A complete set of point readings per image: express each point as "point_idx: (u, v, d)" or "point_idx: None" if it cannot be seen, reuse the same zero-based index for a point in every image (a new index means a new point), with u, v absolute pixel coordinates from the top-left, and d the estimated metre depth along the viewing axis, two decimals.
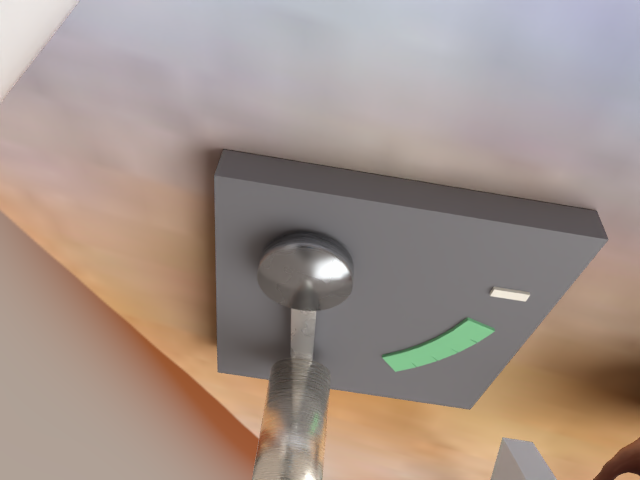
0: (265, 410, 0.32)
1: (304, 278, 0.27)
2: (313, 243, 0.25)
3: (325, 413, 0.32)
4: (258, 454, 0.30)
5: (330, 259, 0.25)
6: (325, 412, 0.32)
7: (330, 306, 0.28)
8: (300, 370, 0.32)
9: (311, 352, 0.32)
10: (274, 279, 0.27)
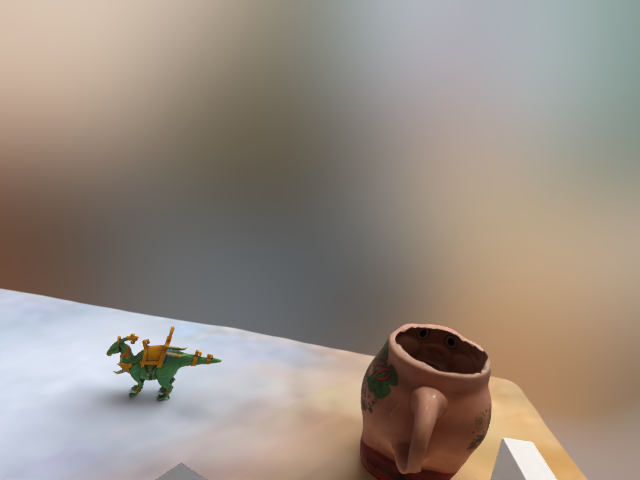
0: None
1: None
2: None
3: None
4: None
5: None
6: None
7: None
8: None
9: None
10: None
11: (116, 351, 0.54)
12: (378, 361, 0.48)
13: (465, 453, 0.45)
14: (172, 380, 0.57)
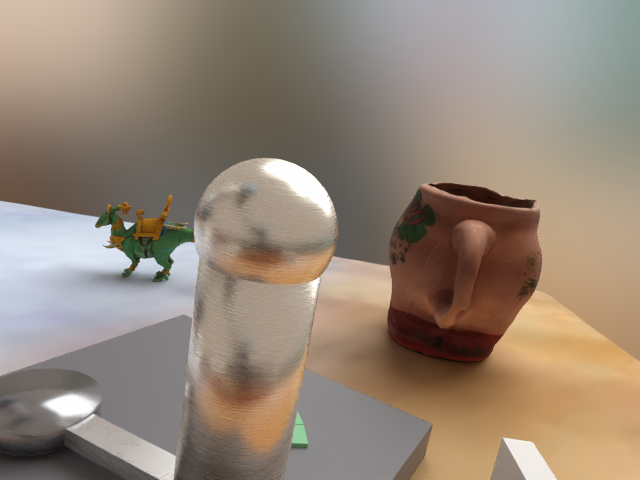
0: (186, 440, 0.17)
1: (35, 393, 0.23)
2: None
3: None
4: (194, 365, 0.16)
5: (35, 371, 0.25)
6: None
7: (98, 397, 0.23)
8: None
9: None
10: (6, 411, 0.21)
11: (106, 222, 0.47)
12: (409, 209, 0.42)
13: (515, 302, 0.39)
14: (170, 262, 0.50)
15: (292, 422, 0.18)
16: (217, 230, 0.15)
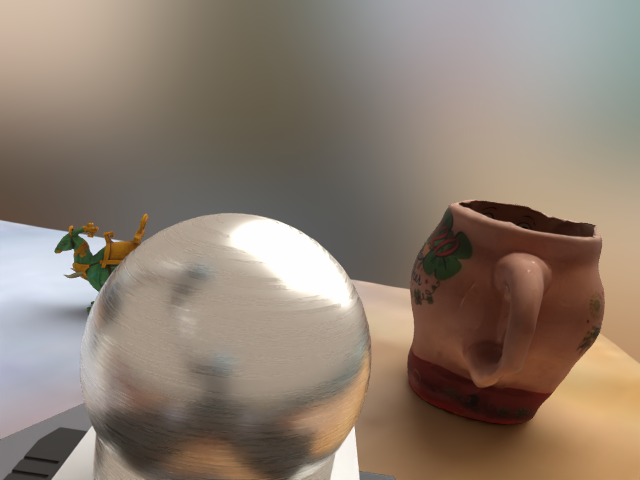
0: None
1: None
2: None
3: None
4: None
5: None
6: None
7: None
8: None
9: None
10: None
11: (67, 246, 0.39)
12: (437, 235, 0.34)
13: (573, 357, 0.31)
14: None
15: None
16: (111, 390, 0.07)
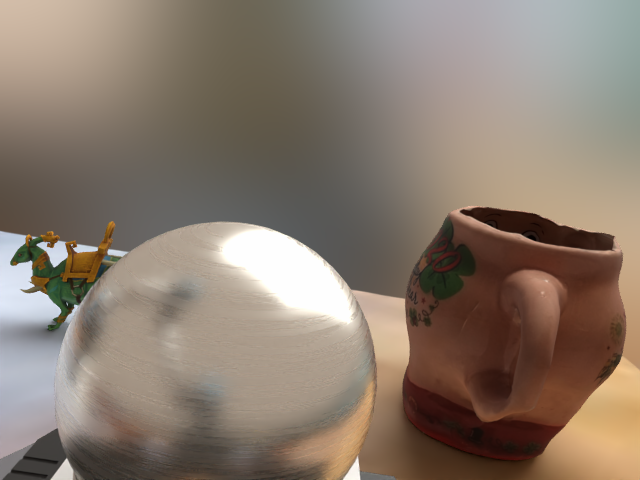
0: None
1: None
2: None
3: None
4: None
5: None
6: None
7: None
8: None
9: None
10: None
11: (24, 258, 0.35)
12: (435, 247, 0.30)
13: (591, 387, 0.27)
14: None
15: None
16: (138, 450, 0.06)
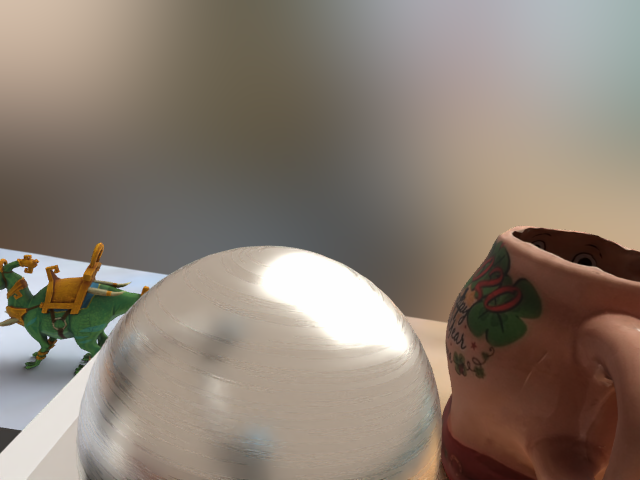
0: None
1: None
2: None
3: None
4: None
5: None
6: None
7: None
8: None
9: None
10: None
11: None
12: (486, 279, 0.25)
13: None
14: None
15: None
16: None
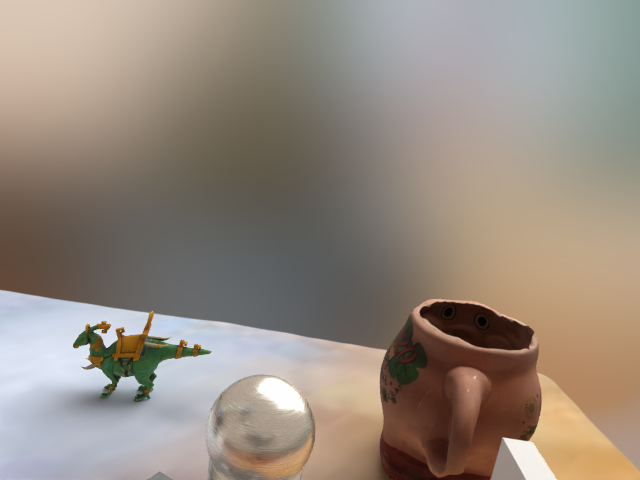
0: None
1: None
2: None
3: None
4: None
5: None
6: None
7: None
8: None
9: None
10: None
11: (84, 342, 0.45)
12: (400, 341, 0.40)
13: None
14: (153, 377, 0.48)
15: None
16: (266, 462, 0.20)
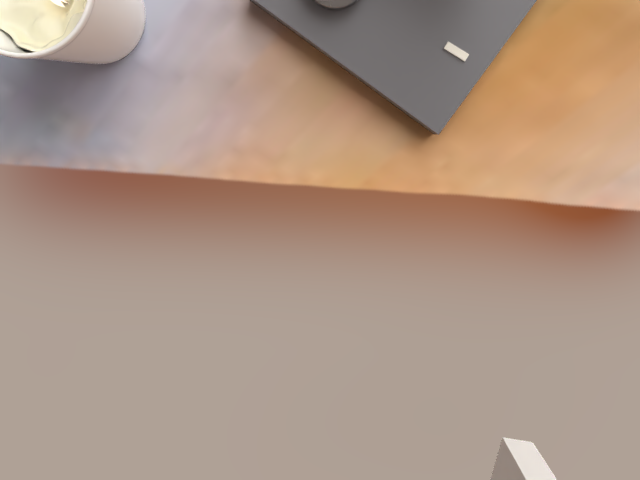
0: None
1: None
2: None
3: None
4: None
5: None
6: None
7: None
8: None
9: None
10: None
11: None
12: None
13: None
14: None
15: None
16: None
